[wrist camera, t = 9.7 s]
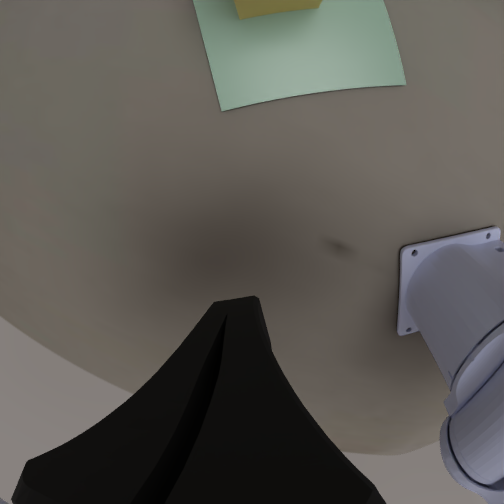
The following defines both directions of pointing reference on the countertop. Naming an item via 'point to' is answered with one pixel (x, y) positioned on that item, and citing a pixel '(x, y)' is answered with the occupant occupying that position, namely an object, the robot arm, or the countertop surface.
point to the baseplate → (298, 50)
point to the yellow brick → (271, 6)
